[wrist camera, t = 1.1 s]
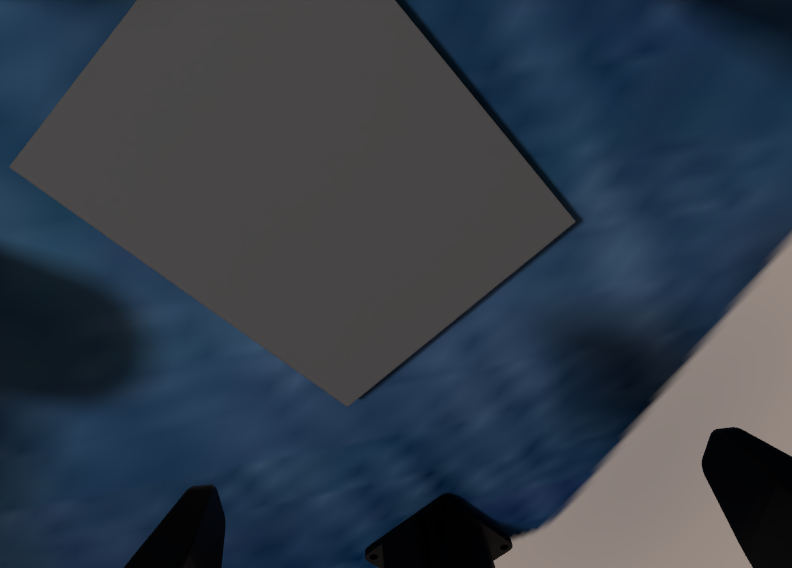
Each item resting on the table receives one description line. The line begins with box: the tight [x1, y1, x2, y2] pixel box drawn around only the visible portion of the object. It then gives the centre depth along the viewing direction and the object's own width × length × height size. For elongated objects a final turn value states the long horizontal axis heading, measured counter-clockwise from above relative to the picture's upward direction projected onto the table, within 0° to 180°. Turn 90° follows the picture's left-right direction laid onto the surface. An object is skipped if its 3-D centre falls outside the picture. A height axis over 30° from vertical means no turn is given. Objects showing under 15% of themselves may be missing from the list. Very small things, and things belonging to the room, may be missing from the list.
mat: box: [10, 0, 576, 407], centre depth 20 cm, size 16×13×1 cm
